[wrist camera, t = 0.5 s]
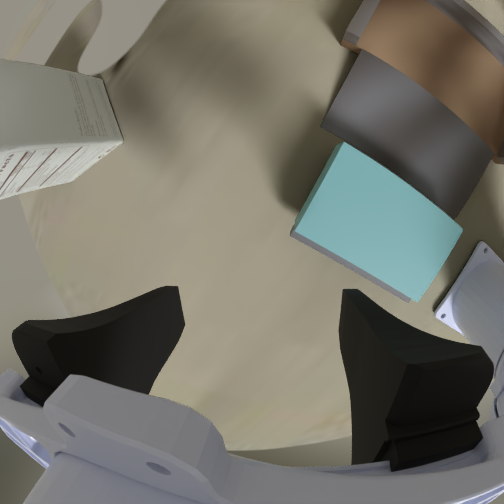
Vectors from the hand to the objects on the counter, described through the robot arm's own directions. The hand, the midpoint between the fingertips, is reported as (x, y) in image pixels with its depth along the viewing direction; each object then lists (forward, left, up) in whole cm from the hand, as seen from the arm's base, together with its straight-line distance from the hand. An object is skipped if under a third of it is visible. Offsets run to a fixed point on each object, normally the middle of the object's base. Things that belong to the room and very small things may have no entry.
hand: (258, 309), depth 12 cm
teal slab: (-5, -5, -10) cm, 12 cm away
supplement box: (+20, -1, -10) cm, 22 cm away
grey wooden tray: (-5, -18, -10) cm, 21 cm away
